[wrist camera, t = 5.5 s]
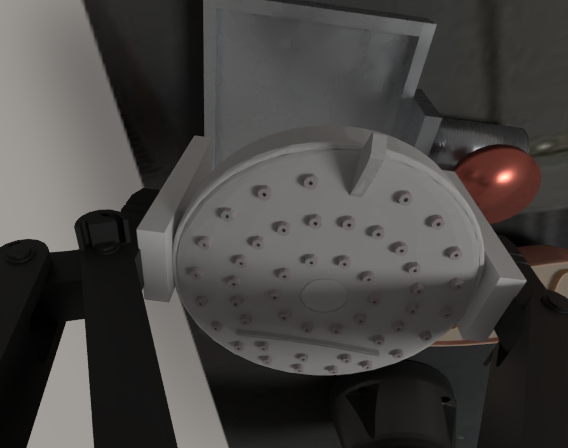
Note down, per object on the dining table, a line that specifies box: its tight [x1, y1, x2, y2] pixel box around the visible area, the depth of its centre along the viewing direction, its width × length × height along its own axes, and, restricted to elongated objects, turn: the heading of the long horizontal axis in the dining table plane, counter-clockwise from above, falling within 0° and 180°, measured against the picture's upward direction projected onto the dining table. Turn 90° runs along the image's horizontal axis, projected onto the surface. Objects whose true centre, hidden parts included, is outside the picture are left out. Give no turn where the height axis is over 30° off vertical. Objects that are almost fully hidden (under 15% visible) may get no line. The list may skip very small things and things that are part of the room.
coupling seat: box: [203, 0, 541, 224], centre depth 25 cm, size 22×14×7 cm
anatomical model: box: [430, 245, 568, 346], centre depth 34 cm, size 23×10×5 cm, turn 96°
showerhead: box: [172, 125, 484, 375], centre depth 14 cm, size 9×7×10 cm
